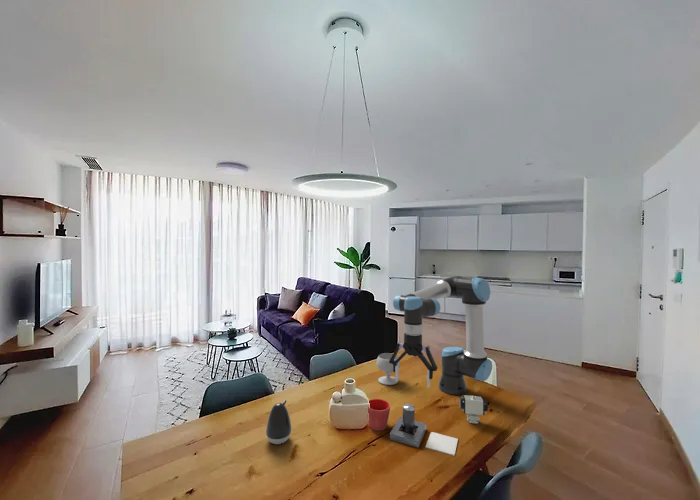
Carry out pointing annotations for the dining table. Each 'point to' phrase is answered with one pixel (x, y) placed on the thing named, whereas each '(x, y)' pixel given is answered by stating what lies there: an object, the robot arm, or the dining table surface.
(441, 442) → the pad
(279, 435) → the dark grey tapered piece
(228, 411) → the dining table surface
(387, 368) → the chalice
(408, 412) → the metal cylinder
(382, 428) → the flower pot
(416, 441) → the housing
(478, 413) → the pneumatic valve
